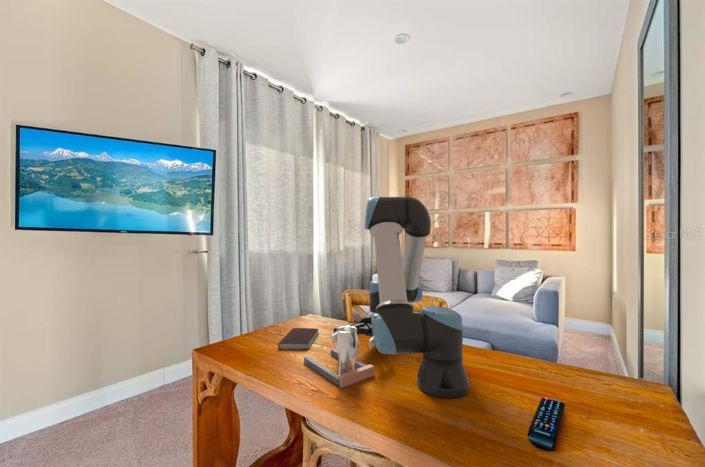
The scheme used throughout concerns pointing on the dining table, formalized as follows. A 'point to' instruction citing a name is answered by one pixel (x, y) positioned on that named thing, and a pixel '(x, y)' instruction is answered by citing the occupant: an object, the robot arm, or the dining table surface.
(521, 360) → the dining table surface
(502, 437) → the dining table surface
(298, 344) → the book
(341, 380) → the guide channel
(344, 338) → the shiny metal tumbler
